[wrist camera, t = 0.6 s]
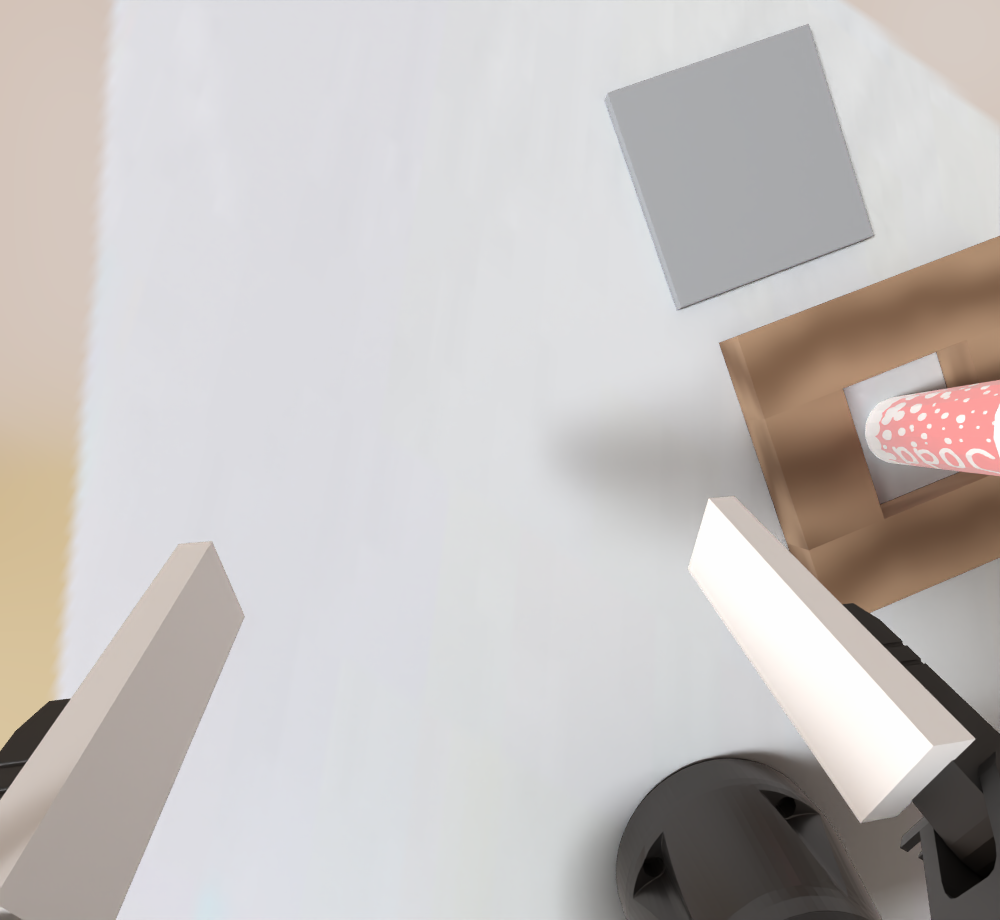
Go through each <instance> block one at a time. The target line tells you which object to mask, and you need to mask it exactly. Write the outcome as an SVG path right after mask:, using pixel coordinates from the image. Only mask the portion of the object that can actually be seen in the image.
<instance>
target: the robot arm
mask: <svg viewBox="0 0 1000 920" xmlns="http://www.w3.org/2000/svg"><path fill="white" fill-rule="evenodd" d="M688 571H689V572H690V574H691V575H692V577H693V578H694V580H695V581H696V583H697V584H698V585H699V587H700V588H701V590H702V591H703V593H704V594H705V596H706V597H707V599H708V600H709V602H710V603H711V605H712V606H713V608H714V609H715V610H716V612H717V613H718V615H719V616H720V618H721V619H722V621H723V622H724V624H725V625H726V627H727V628H728V630H729V631H730V632H731V634H732V635H733V637H734V638H735V640H736V641H737V643H738V644H739V646H740V647H741V649H742V650H743V652H744V653H745V654H746V656H747V657H748V659H749V660H750V662H751V663H752V665H753V666H754V668H755V669H756V671H757V672H758V674H759V675H760V677H761V678H762V679H763V681H764V682H765V684H766V685H767V687H768V688H769V690H770V691H771V693H772V694H773V696H774V697H775V699H776V700H777V701H778V703H779V704H780V706H781V707H782V709H783V710H784V712H785V713H786V715H787V716H788V718H789V719H790V721H791V722H792V724H793V725H794V726H795V728H796V729H797V731H798V732H799V734H800V735H801V737H802V738H803V740H804V741H805V743H806V744H807V746H808V747H809V748H810V750H811V751H812V753H813V754H814V756H815V757H816V759H817V760H818V762H819V763H820V765H821V766H822V768H823V769H824V771H825V772H826V773H827V775H828V776H829V778H830V779H831V781H832V782H833V784H834V785H835V787H836V788H837V790H838V791H839V793H840V794H841V795H842V797H843V798H844V800H845V801H846V803H847V804H848V806H849V807H850V809H851V810H852V812H853V813H854V815H855V816H856V817H857V819H858V820H859V822H860V823H864V822H870V821H875V820H881V819H886V818H892V817H897V816H898V815H899V814H900V813H901V812H902V811H903V810H904V809H905V808H906V807H907V806H908V805H909V804H910V803H911V802H912V801H913V803H914V804H915V805H916V807H917V808H918V809H919V810H920V812H921V813H922V814H923V815H924V817H923V818H922V819H921V820H920V821H919V822H918V823H916V824H915V825H914V826H913V827H912V828H911V829H910V830H909V831H908V832H907V833H906V834H904V835H903V836H902V840H901V847H900V848H901V849H903V850H905V851H907V852H908V851H909V850H910V849H912V848H913V847H914V846H915V845H916V844H917V843H918V842H920V841H921V846H922V851H921V853H920V854H919V856H918V858H920V859H922V860H923V861H924V869H925V876H926V884H927V891H928V899H929V906H930V914H931V920H1000V734H999V733H998V732H997V731H996V730H995V729H994V728H993V727H992V726H991V725H990V724H989V723H987V722H986V721H985V720H984V719H983V718H982V717H981V716H980V715H979V714H978V713H977V712H976V711H975V710H974V709H973V708H972V707H971V706H970V705H969V704H968V703H967V702H966V701H964V700H963V699H962V698H961V697H960V696H959V695H958V694H957V693H956V692H955V691H954V690H953V689H952V688H951V687H950V686H949V685H948V684H947V683H946V682H945V681H944V680H942V679H941V678H940V677H939V676H938V675H937V674H936V673H935V672H934V671H933V670H932V669H931V668H930V667H929V666H928V665H927V664H926V663H925V664H923V663H922V662H921V658H919V657H918V656H917V655H916V654H915V653H914V652H913V651H912V650H911V649H910V648H909V647H908V646H904V645H903V643H902V640H901V639H900V638H899V637H897V636H896V635H895V634H894V633H893V632H892V631H891V630H890V629H889V628H888V627H887V626H886V625H885V624H884V623H883V622H882V621H881V620H879V619H878V618H876V617H875V616H873V615H871V614H870V613H868V612H867V611H865V610H864V609H862V608H860V607H859V606H857V605H856V604H854V603H849V604H841V603H840V602H839V601H838V600H837V599H836V598H835V597H834V596H833V595H832V594H831V593H830V592H829V591H828V590H827V589H826V588H825V587H824V586H823V585H822V584H821V583H820V582H819V581H818V580H817V579H816V578H815V577H814V576H813V575H812V574H811V573H810V572H809V571H808V570H807V569H806V568H805V567H804V566H803V565H802V564H801V563H800V562H799V561H798V560H797V559H796V558H795V557H794V556H793V555H792V554H791V553H790V552H789V551H788V550H787V549H786V548H785V547H784V546H783V545H782V544H781V543H780V542H779V541H778V540H777V539H776V538H775V537H774V536H773V535H772V534H771V533H770V532H769V531H768V530H767V529H766V528H765V527H764V526H763V525H762V524H761V523H760V522H759V521H758V520H757V518H756V517H755V516H754V515H753V514H752V513H751V512H750V511H749V510H748V509H747V508H746V507H745V506H744V505H743V504H742V503H741V502H740V501H739V500H738V499H737V498H736V497H735V496H727V497H716V498H709V499H708V502H707V506H706V509H705V513H704V516H703V519H702V523H701V526H700V530H699V533H698V536H697V540H696V543H695V547H694V550H693V553H692V557H691V560H690V563H689V567H688ZM244 617H245V616H244V614H243V611H242V609H241V607H240V604H239V602H238V600H237V598H236V595H235V593H234V591H233V588H232V586H231V584H230V582H229V579H228V577H227V575H226V572H225V570H224V568H223V565H222V563H221V561H220V559H219V556H218V554H217V552H216V549H215V547H214V545H213V543H212V541H209V542H197V543H186V544H178V546H177V547H176V549H175V550H174V552H173V553H172V554H171V556H170V557H169V559H168V560H167V562H166V563H165V564H164V566H163V567H162V569H161V570H160V572H159V573H158V575H157V576H156V577H155V579H154V580H153V582H152V583H151V585H150V586H149V587H148V589H147V590H146V592H145V593H144V595H143V596H142V597H141V599H140V600H139V602H138V603H137V605H136V606H135V608H134V609H133V610H132V612H131V613H130V615H129V616H128V618H127V619H126V620H125V622H124V623H123V625H122V626H121V628H120V629H119V630H118V632H117V633H116V635H115V636H114V638H113V639H112V640H111V642H110V643H109V645H108V646H107V648H106V649H105V651H104V652H103V653H102V655H101V656H100V658H99V659H98V661H97V662H96V663H95V665H94V666H93V668H92V669H91V671H90V672H89V673H88V675H87V676H86V678H85V679H84V681H83V682H82V683H81V685H80V686H79V688H78V689H77V691H76V692H75V694H74V695H73V696H72V698H71V699H63V700H55V701H49V702H48V703H47V704H46V705H45V706H43V707H42V708H41V709H40V710H39V711H38V712H36V713H35V714H34V715H33V716H32V717H31V718H30V719H29V720H27V722H25V723H24V724H23V725H22V726H21V727H20V728H19V729H17V730H16V731H15V732H14V734H13V735H12V737H11V738H10V739H9V740H8V742H7V743H6V744H5V746H4V747H3V748H2V750H1V751H0V920H116V918H117V915H118V913H119V911H120V908H121V906H122V903H123V901H124V899H125V896H126V894H127V892H128V889H129V887H130V885H131V882H132V880H133V878H134V875H135V873H136V871H137V868H138V866H139V864H140V861H141V859H142V857H143V854H144V852H145V849H146V847H147V845H148V842H149V840H150V838H151V835H152V833H153V831H154V828H155V826H156V824H157V821H158V819H159V817H160V814H161V812H162V810H163V807H164V805H165V803H166V800H167V798H168V795H169V793H170V791H171V788H172V786H173V784H174V781H175V779H176V777H177V774H178V772H179V770H180V767H181V765H182V763H183V760H184V758H185V756H186V753H187V751H188V749H189V746H190V744H191V741H192V739H193V737H194V734H195V732H196V730H197V727H198V725H199V723H200V720H201V718H202V716H203V713H204V711H205V709H206V706H207V704H208V702H209V699H210V697H211V695H212V692H213V690H214V687H215V685H216V683H217V680H218V678H219V676H220V673H221V671H222V669H223V666H224V664H225V662H226V659H227V657H228V655H229V652H230V650H231V648H232V645H233V643H234V641H235V638H236V636H237V633H238V631H239V629H240V626H241V624H242V622H243V619H244ZM616 881H617V889H618V894H619V898H620V901H621V904H622V907H623V910H624V913H625V916H626V919H627V920H882V918H881V916H880V914H879V912H878V911H877V909H876V907H875V905H874V903H873V901H872V899H871V897H870V896H869V894H868V892H867V890H866V888H865V886H864V884H863V882H862V881H861V879H860V877H859V875H858V873H857V871H856V869H855V867H854V866H853V864H852V862H851V860H850V858H849V856H848V854H847V852H846V851H845V849H844V847H843V845H842V843H841V841H840V839H839V837H838V836H837V834H836V832H835V830H834V829H833V827H832V826H831V824H830V823H829V821H828V820H827V819H826V817H825V816H824V815H823V813H822V812H821V811H820V810H819V809H818V808H817V807H816V805H815V804H814V803H813V802H812V801H811V800H810V799H809V798H808V797H807V796H806V795H805V794H804V793H803V792H802V791H801V790H800V789H799V788H798V787H797V786H796V785H795V784H794V783H793V782H792V781H791V780H790V779H789V778H787V777H786V776H784V775H783V774H782V773H780V772H778V771H777V770H775V769H773V768H771V767H768V766H766V765H763V764H760V763H757V762H753V761H749V760H743V759H717V760H710V761H706V762H701V763H698V764H695V765H692V766H690V767H687V768H685V769H683V770H681V771H679V772H677V773H675V774H673V775H672V776H670V777H669V778H667V779H666V780H664V781H663V782H662V783H660V784H659V785H658V786H657V787H656V788H654V789H653V790H652V791H651V792H650V793H649V794H648V795H647V796H646V797H645V799H644V800H643V801H642V802H641V803H640V805H639V806H638V807H637V809H636V810H635V812H634V813H633V815H632V817H631V818H630V820H629V822H628V824H627V826H626V829H625V831H624V833H623V836H622V839H621V842H620V846H619V850H618V855H617V863H616Z"/></svg>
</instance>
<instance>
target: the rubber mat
mask: <svg viewBox="0 0 1000 920" xmlns="http://www.w3.org/2000/svg"><path fill="white" fill-rule="evenodd" d="M605 102H606V105H607V108H608V111H609V114H610V117H611V120H612V123H613V126H614V128H615V131H616V134H617V137H618V140H619V143H620V146H621V149H622V152H623V155H624V158H625V160H626V163H627V166H628V169H629V172H630V175H631V178H632V181H633V184H634V187H635V190H636V193H637V195H638V198H639V201H640V204H641V207H642V210H643V213H644V216H645V219H646V222H647V225H648V227H649V230H650V233H651V236H652V239H653V242H654V245H655V248H656V251H657V254H658V257H659V259H660V262H661V265H662V268H663V271H664V274H665V277H666V280H667V283H668V286H669V289H670V292H671V294H672V297H673V300H674V303H675V306H676V309H677V310H679V309H682V308H684V307H687V306H690V305H692V304H695V303H697V302H700V301H703V300H705V299H708V298H711V297H713V296H716V295H719V294H721V293H724V292H727V291H729V290H732V289H735V288H737V287H740V286H743V285H745V284H748V283H751V282H753V281H756V280H759V279H761V278H764V277H767V276H769V275H772V274H775V273H777V272H780V271H783V270H785V269H788V268H791V267H793V266H796V265H799V264H801V263H804V262H807V261H809V260H812V259H815V258H817V257H820V256H823V255H825V254H828V253H831V252H833V251H836V250H839V249H841V248H844V247H847V246H849V245H852V244H855V243H857V242H860V241H863V240H865V239H867V238H869V237H871V236H873V235H874V234H873V231H872V228H871V225H870V221H869V218H868V215H867V212H866V208H865V205H864V202H863V199H862V195H861V192H860V189H859V186H858V182H857V179H856V176H855V173H854V169H853V166H852V163H851V160H850V156H849V153H848V150H847V147H846V143H845V140H844V137H843V134H842V130H841V127H840V124H839V121H838V117H837V114H836V111H835V108H834V104H833V101H832V98H831V95H830V91H829V88H828V85H827V82H826V78H825V75H824V72H823V69H822V65H821V62H820V59H819V56H818V52H817V49H816V46H815V43H814V39H813V36H812V33H811V30H810V26H809V24H807V25H804V26H801V27H798V28H795V29H792V30H789V31H786V32H784V33H781V34H778V35H775V36H772V37H769V38H766V39H763V40H760V41H757V42H754V43H752V44H749V45H746V46H743V47H740V48H737V49H734V50H731V51H728V52H725V53H723V54H720V55H717V56H714V57H711V58H708V59H705V60H702V61H699V62H696V63H693V64H691V65H688V66H685V67H682V68H679V69H676V70H673V71H670V72H667V73H664V74H661V75H659V76H656V77H653V78H650V79H647V80H644V81H641V82H638V83H635V84H632V85H629V86H627V87H624V88H621V89H618V90H615V91H612V92H609V93H608V94H607V96H606V98H605Z"/></svg>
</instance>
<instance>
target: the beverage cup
mask: <svg viewBox="0 0 1000 920" xmlns="http://www.w3.org/2000/svg"><path fill="white" fill-rule="evenodd" d="M865 438H866V441H867V443H868V446H869V449H870V450H871V451H872V452H873V453H874V454H875V456H876V457H877V458H879V459H881V460H883V461H886V462H888V463H895V464H903V465H912V466H920V467H928V468H936V469H945V470H953V471H961V472H969V473H978V474H986V475H994V476H1000V380H996V381H990V382H984V383H977V384H971V385H965V386H959V387H953V388H947V389H940V390H934V391H928V392H922V393H916V394H910V395H903V396H897V397H891V398H889V399H887V400H884V401H882V402H880V403H879V404H878V405H877V406H876V407H875V408H874V409H873V410H872V411H871V412H870V415H869V417H868V419H867V422H866V428H865Z"/></svg>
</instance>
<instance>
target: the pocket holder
mask: <svg viewBox="0 0 1000 920" xmlns="http://www.w3.org/2000/svg"><path fill="white" fill-rule="evenodd" d="M719 344H720V347H721V350H722V353H723V356H724V359H725V362H726V365H727V368H728V371H729V374H730V377H731V380H732V383H733V386H734V389H735V392H736V395H737V397H738V400H739V403H740V406H741V409H742V412H743V415H744V418H745V421H746V424H747V427H748V430H749V433H750V436H751V439H752V442H753V445H754V448H755V451H756V454H757V457H758V460H759V463H760V465H761V468H762V471H763V474H764V477H765V480H766V483H767V486H768V489H769V492H770V495H771V498H772V501H773V504H774V507H775V510H776V513H777V516H778V519H779V522H780V525H781V528H782V530H783V533H784V536H785V539H786V542H787V545H788V548H789V551H790V553H791V554H792V555H793V556H794V557H795V558H796V559H797V560H798V561H799V562H800V563H801V564H802V565H803V566H804V567H805V568H806V569H807V570H808V571H809V572H810V573H811V574H812V575H813V576H814V577H815V578H816V579H817V580H818V581H819V582H820V583H821V584H822V585H823V586H824V587H825V588H826V589H827V590H828V591H829V592H830V593H831V594H832V595H833V596H834V597H835V598H836V599H837V600H838V601H839V602H840V603H841V604H849V603H854V604H856V605H857V606H859V607H860V608H862V609H864V610H865V611H867V612H868V613H871V612H873V611H875V610H878V609H880V608H882V607H885V606H887V605H889V604H892V603H894V602H896V601H899V600H901V599H903V598H906V597H908V596H911V595H913V594H915V593H918V592H920V591H922V590H925V589H927V588H929V587H932V586H934V585H936V584H939V583H941V582H943V581H946V580H948V579H950V578H953V577H955V576H958V575H960V574H962V573H965V572H967V571H969V570H972V569H974V568H976V567H979V566H981V565H983V564H986V563H988V562H990V561H993V560H995V559H998V558H1000V476H994V475H986V474H978V473H969V472H959V473H956V474H954V475H951V476H949V477H947V478H944V479H942V480H939V481H937V482H934V483H932V484H929V485H927V486H925V487H922V488H920V489H917V490H915V491H912V492H910V493H908V494H905V495H903V496H900V497H898V498H895V499H893V500H891V501H888V502H886V503H883V504H881V505H880V503H879V500H878V497H877V494H876V491H875V488H874V485H873V482H872V478H871V475H870V472H869V469H868V466H867V463H866V460H865V457H864V454H863V450H862V447H861V444H860V441H859V438H858V435H857V432H856V429H855V425H854V422H853V419H852V416H851V413H850V410H849V407H848V404H847V400H846V397H845V394H844V391H843V388H845V387H848V386H851V385H853V384H856V383H858V382H861V381H863V380H866V379H868V378H871V377H873V376H876V375H878V374H881V373H884V372H886V371H889V370H891V369H894V368H896V367H899V366H901V365H904V364H906V363H909V362H911V361H914V360H917V359H919V358H922V357H924V356H927V355H929V354H932V353H934V352H937V356H938V359H939V362H940V366H941V369H942V372H943V375H944V379H945V382H946V385H947V388H953V387H959V386H965V385H971V384H977V383H984V382H990V381H996V380H1000V236H998V237H996V238H993V239H990V240H988V241H985V242H982V243H980V244H977V245H975V246H972V247H969V248H967V249H964V250H961V251H959V252H956V253H954V254H951V255H948V256H946V257H943V258H941V259H938V260H935V261H933V262H930V263H927V264H925V265H922V266H920V267H917V268H914V269H912V270H909V271H906V272H904V273H901V274H899V275H896V276H893V277H891V278H888V279H885V280H883V281H880V282H878V283H875V284H872V285H870V286H867V287H865V288H862V289H859V290H857V291H854V292H851V293H849V294H846V295H844V296H841V297H838V298H836V299H833V300H830V301H828V302H825V303H823V304H820V305H817V306H815V307H812V308H809V309H807V310H804V311H802V312H799V313H796V314H794V315H791V316H789V317H786V318H783V319H781V320H778V321H775V322H773V323H770V324H768V325H765V326H762V327H760V328H757V329H754V330H752V331H749V332H747V333H744V334H741V335H739V336H736V337H734V338H731V339H728V340H726V341H723V342H720V343H719Z"/></svg>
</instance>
